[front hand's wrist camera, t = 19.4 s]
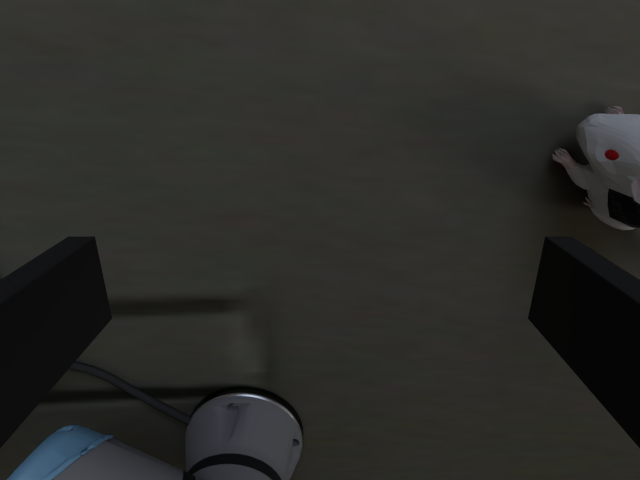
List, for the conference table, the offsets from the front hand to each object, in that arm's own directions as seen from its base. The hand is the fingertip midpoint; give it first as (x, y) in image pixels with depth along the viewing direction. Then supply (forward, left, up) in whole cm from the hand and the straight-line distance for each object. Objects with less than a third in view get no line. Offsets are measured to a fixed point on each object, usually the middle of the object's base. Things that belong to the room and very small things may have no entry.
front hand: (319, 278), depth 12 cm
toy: (+30, +15, -32) cm, 46 cm away
